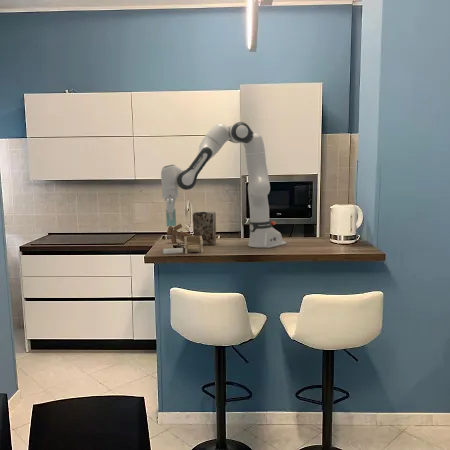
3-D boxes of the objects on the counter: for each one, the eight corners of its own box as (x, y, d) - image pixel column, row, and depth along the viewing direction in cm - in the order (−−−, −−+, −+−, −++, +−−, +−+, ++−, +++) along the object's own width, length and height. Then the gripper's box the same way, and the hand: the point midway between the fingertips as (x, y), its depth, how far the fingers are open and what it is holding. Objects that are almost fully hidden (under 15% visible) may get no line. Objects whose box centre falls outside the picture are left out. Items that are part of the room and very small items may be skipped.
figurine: (185, 249, 293) (164, 239, 296) (186, 248, 296) (165, 239, 299) (192, 230, 290) (170, 220, 293) (193, 229, 292) (172, 219, 295)
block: (167, 225, 269) (166, 209, 268) (176, 224, 270) (175, 208, 268) (166, 226, 264) (166, 210, 263) (176, 225, 265) (175, 209, 264)
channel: (185, 248, 277) (184, 236, 276) (202, 247, 278) (201, 235, 277) (185, 254, 260) (184, 241, 259) (203, 253, 261) (202, 240, 260)
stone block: (217, 243, 289) (215, 210, 286) (214, 245, 282) (213, 212, 279) (196, 243, 292) (194, 210, 289) (193, 245, 285) (191, 212, 282)
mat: (163, 250, 274) (163, 248, 274) (183, 249, 275) (183, 247, 275) (163, 254, 263) (162, 252, 263) (183, 252, 264) (183, 251, 264)
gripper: (175, 195, 255) (176, 221, 257) (176, 192, 275) (177, 216, 277) (163, 196, 254) (165, 221, 256) (165, 193, 274) (166, 217, 276)
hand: (171, 219), depth 267 cm, fingers closed on block, 5 cm apart
